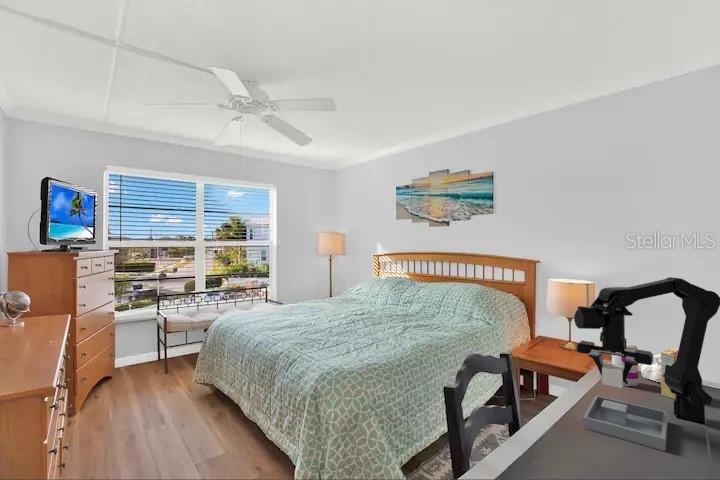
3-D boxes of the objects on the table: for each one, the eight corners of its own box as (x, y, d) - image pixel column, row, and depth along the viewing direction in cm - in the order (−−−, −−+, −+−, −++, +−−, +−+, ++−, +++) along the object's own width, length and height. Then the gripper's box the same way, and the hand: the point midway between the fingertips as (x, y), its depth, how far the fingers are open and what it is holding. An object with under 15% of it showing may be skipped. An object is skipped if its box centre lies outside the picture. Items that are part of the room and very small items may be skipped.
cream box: (625, 382, 110) (625, 366, 111) (622, 388, 106) (621, 371, 106) (605, 378, 114) (605, 362, 114) (602, 383, 110) (601, 367, 110)
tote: (667, 423, 105) (667, 411, 105) (665, 453, 90) (665, 439, 90) (595, 405, 117) (595, 395, 117) (583, 429, 102) (582, 417, 103)
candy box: (672, 390, 129) (671, 347, 130) (687, 394, 126) (686, 350, 126) (660, 395, 125) (659, 351, 125) (676, 399, 121) (674, 354, 122)
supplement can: (643, 388, 131) (642, 347, 132) (618, 386, 133) (617, 346, 133) (631, 380, 139) (630, 341, 140) (608, 378, 141) (607, 340, 141)
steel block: (627, 418, 108) (627, 405, 108) (625, 426, 103) (625, 412, 103) (604, 412, 112) (603, 399, 112) (600, 419, 107) (600, 406, 107)
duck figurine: (681, 392, 133) (685, 364, 137) (676, 383, 129) (681, 355, 134) (641, 382, 143) (647, 356, 147) (636, 374, 139) (641, 348, 143)
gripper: (654, 329, 110) (655, 380, 109) (584, 320, 123) (584, 366, 122) (651, 336, 102) (651, 391, 101) (576, 326, 115) (576, 374, 114)
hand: (613, 379), depth 110 cm, fingers closed on cream box, 5 cm apart
